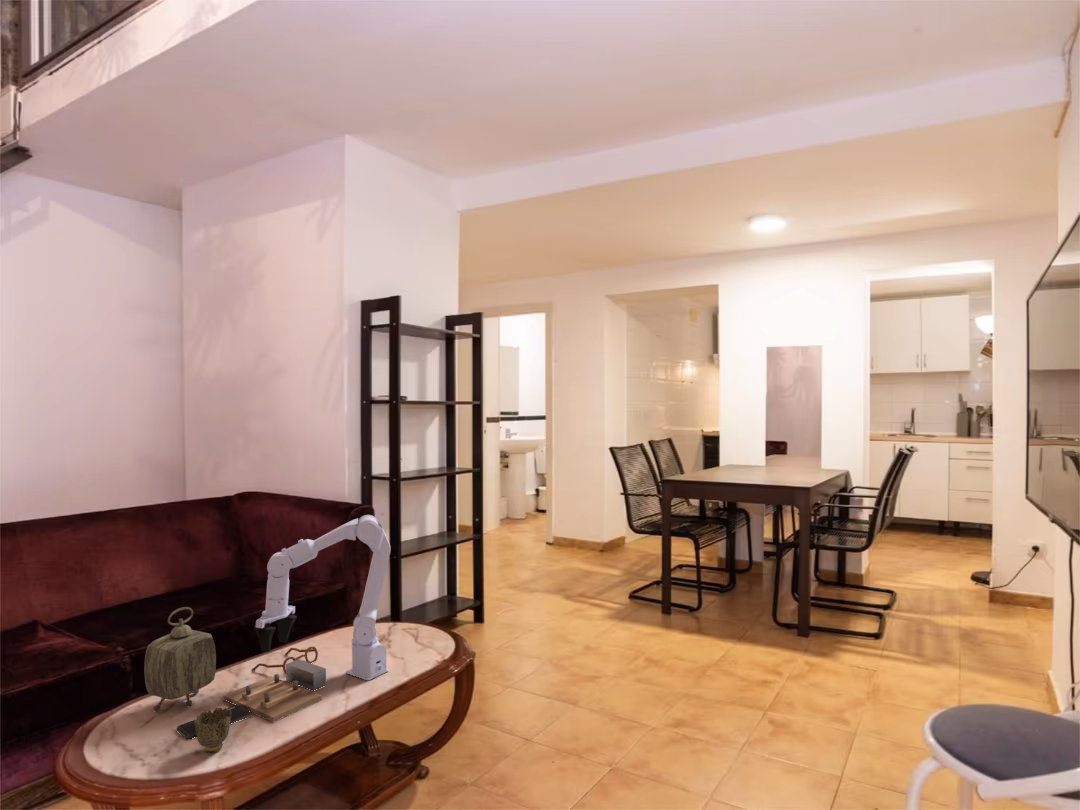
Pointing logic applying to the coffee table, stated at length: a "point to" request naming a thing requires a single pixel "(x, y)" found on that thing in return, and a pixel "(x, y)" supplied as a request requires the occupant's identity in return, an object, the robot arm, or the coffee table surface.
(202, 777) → the coffee table surface
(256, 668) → the glasses
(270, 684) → the peg rack
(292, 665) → the metal bar
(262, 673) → the coffee table surface
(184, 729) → the phone
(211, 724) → the cup
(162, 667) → the tabletop clock
